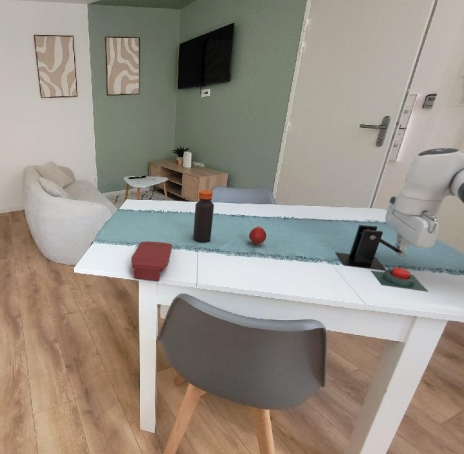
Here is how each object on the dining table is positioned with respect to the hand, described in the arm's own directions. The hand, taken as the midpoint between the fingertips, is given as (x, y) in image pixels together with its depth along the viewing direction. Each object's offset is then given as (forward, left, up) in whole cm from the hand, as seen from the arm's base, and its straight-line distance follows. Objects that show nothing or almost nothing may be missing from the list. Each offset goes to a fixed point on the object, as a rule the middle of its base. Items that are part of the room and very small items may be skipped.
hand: (400, 248), depth 90 cm
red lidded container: (+74, +18, -7) cm, 76 cm away
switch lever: (+5, 0, 0) cm, 5 cm away
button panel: (+3, +10, -7) cm, 13 cm away
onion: (+39, -6, -7) cm, 40 cm away
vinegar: (+59, -5, -7) cm, 59 cm away
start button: (+3, +10, -5) cm, 11 cm away
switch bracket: (+9, 0, -7) cm, 11 cm away
